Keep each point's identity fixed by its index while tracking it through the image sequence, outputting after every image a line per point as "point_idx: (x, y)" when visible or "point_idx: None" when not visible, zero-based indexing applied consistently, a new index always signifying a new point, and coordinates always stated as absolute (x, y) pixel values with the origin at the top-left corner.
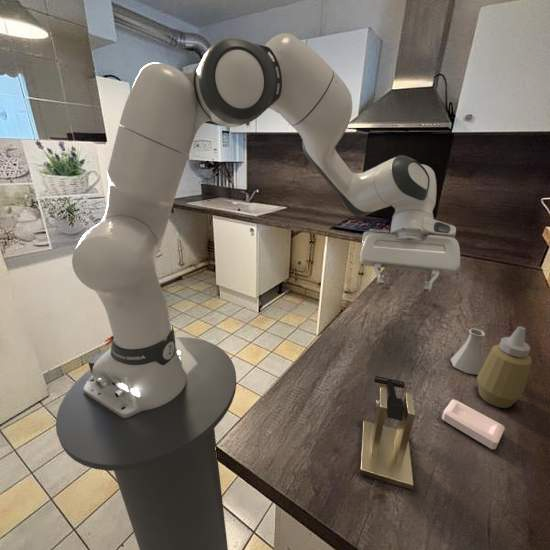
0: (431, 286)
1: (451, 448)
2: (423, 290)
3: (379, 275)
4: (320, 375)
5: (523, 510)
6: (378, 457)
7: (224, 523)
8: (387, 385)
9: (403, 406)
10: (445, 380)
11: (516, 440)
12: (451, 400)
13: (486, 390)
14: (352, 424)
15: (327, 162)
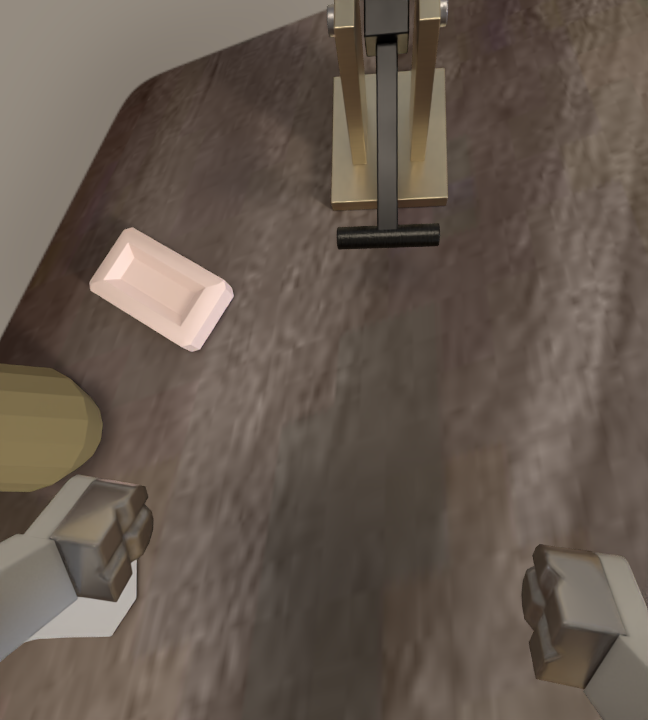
0: (60, 494)
1: (232, 214)
2: (148, 508)
3: (637, 633)
4: (615, 361)
5: (140, 128)
6: (405, 108)
7: None
8: (397, 183)
9: None
10: (183, 470)
11: (77, 289)
12: (193, 339)
13: (78, 390)
14: (474, 198)
15: None
